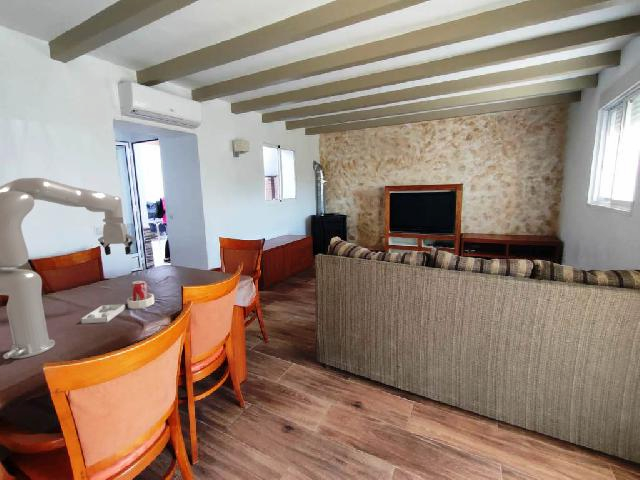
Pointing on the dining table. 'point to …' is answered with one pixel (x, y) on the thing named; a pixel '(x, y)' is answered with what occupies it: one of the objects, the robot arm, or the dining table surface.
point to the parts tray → (99, 311)
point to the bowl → (140, 302)
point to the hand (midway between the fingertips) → (118, 254)
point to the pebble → (106, 308)
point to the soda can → (139, 290)
